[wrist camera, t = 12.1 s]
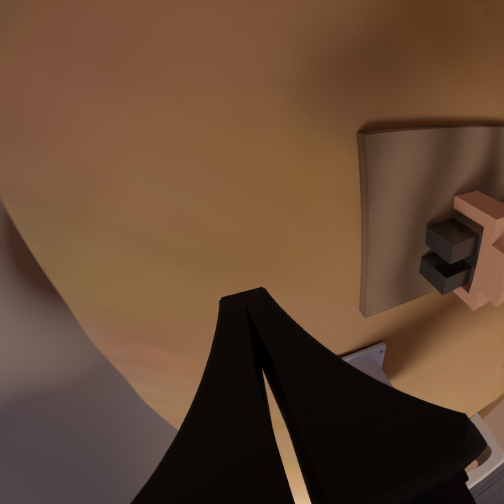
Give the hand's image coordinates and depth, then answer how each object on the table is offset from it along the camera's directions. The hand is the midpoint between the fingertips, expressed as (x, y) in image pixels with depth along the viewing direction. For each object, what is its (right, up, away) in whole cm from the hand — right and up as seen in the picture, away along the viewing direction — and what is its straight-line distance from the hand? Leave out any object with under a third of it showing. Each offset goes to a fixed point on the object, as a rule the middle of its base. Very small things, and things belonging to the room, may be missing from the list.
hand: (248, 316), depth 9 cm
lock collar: (+17, +3, +11) cm, 21 cm away
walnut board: (+20, +6, +12) cm, 24 cm away
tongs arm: (+20, +5, +11) cm, 23 cm away
